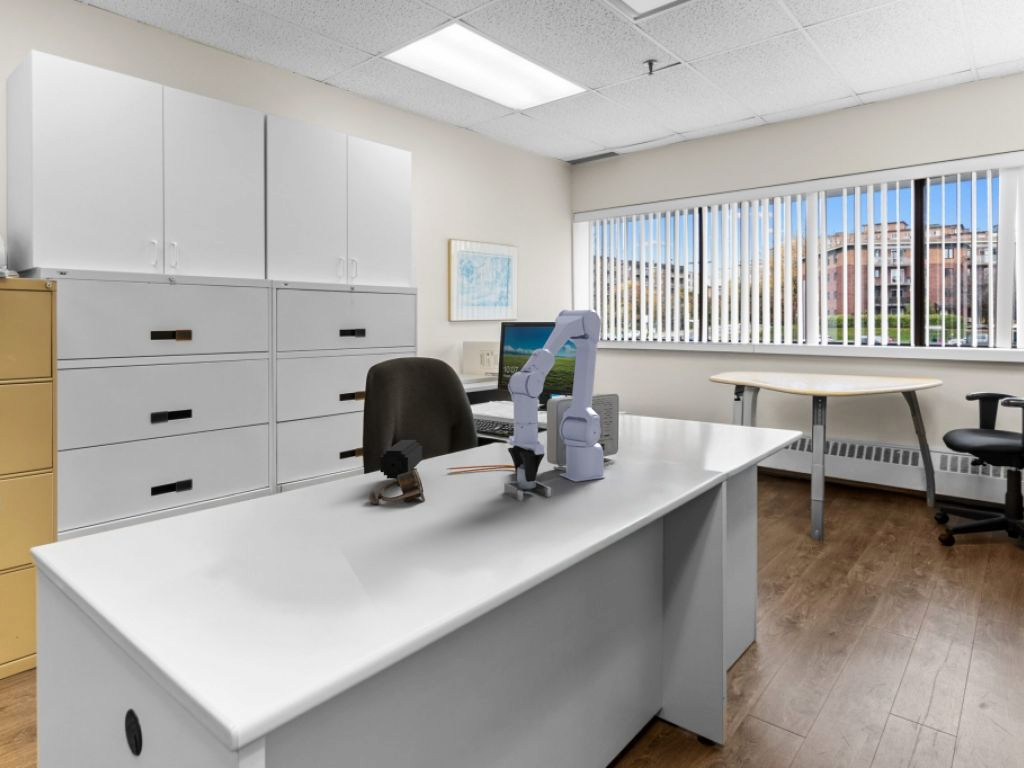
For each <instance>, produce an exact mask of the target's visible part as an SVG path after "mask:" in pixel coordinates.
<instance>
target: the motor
mask: <svg viewBox="0 0 1024 768" xmlns="http://www.w3.org/2000/svg"><path fill="white" fill-rule="evenodd" d="M460 469H461V470H460ZM463 469H465V470H463ZM499 469H515V466H514V465H513V464H512V465H510V464H509V465H508V464H496V465H495V464H493V465H491V464H490V465H473V466H470V465H469V466H458V467H456V466H455V467H448V468H446V470H457V471H450V472H447V475H450V474H451V475H453V474H459V473H460V474H461V473H469V472H478V471H486V470H499Z"/></svg>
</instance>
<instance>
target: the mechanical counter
mask: <svg viewBox="0 0 1024 768" xmlns="http://www.w3.org/2000/svg"><path fill="white" fill-rule="evenodd" d="M397 477H398V480H397V479H396V480H394V481H390V482H388V483H387V484H386V485H385V486H383V487H382V488H381V489H380V491H379V492H377V490H375V489H374V490H371V491H370V493H369V496H368V499H369V502H370V503H371V504H373V505H379V503H380V500H382V501H384V502H396V501H401V500H404V502H405V503H406V502H409V501H412V500H415V499H417V498H421V500H422V501H423V502H425V501H426V497H425V495H424V487H423V483H422V480H421V478H420V475H419V471H418V470H417V471H416V470H413V471H410V472H407V473H404V474H401V475H398V476H397ZM397 484H400V485H399V487H400V490H401V493H402V494H400V495H397V496H392V497H387V496H384V492H385V491H386V490H388V489H390V488H391V487H393V486H398V485H397Z"/></svg>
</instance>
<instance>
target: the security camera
mask: <svg viewBox="0 0 1024 768" xmlns="http://www.w3.org/2000/svg"><path fill="white" fill-rule="evenodd" d="M421 461H423V445H420V443H419V442H417V439H401V440H399V441H398V442H397V443H395V444H394V445H392V446H391V447H389V448H387V449H386V451H385V452H384V453H382V455H380V457H379V462H380V463H379V465H380V468H379V469H380V473H383V476H386V479H387V480H388V479H392V480H393V479H394V480H395V479H396V480H398V477H397V476H398V475H401V474H404V473H407V472H410V471H413V470H416V471H417V472H418V469H417V468H416V467H417V466H418V465H419V464H420V462H421ZM396 486H400V484H397V485H396Z"/></svg>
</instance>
